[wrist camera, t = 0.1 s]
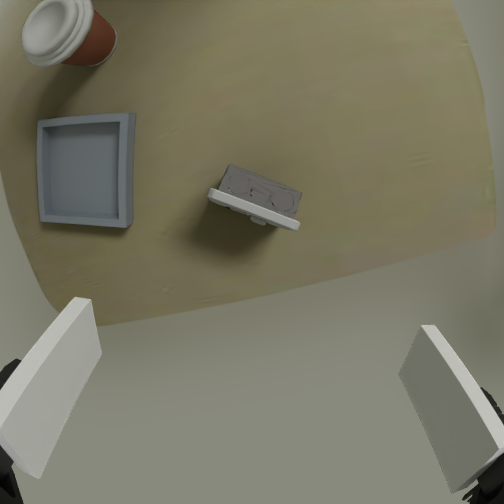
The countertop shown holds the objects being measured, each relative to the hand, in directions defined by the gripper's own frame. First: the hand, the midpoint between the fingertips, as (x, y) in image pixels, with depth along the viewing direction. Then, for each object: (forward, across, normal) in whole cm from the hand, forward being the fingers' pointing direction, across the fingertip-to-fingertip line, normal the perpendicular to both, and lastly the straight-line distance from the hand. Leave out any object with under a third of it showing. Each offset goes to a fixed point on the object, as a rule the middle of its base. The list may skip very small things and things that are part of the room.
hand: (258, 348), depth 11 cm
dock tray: (+28, -22, +2) cm, 36 cm away
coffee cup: (+28, -22, +19) cm, 41 cm away
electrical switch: (+28, 0, 0) cm, 28 cm away
